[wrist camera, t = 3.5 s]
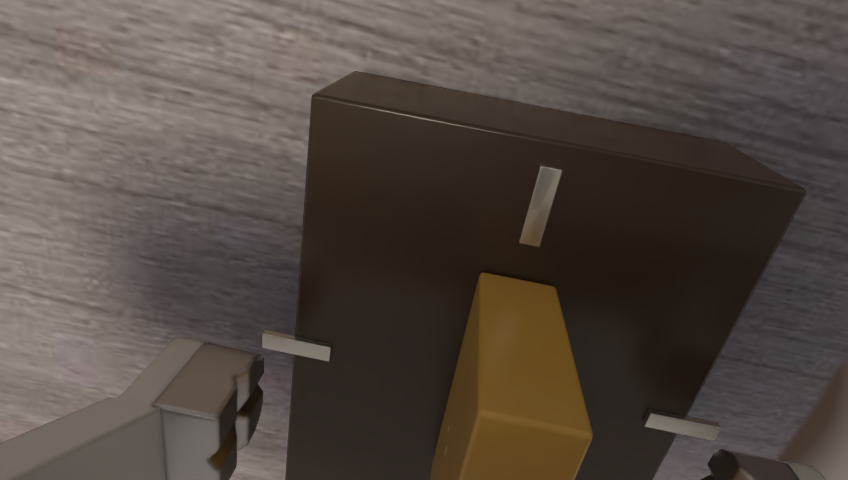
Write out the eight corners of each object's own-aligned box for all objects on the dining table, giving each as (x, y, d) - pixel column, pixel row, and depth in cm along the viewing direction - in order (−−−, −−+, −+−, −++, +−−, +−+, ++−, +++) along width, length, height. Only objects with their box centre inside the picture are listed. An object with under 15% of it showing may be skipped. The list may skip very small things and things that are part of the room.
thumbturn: (479, 269, 9) (478, 428, 6) (557, 285, 9) (600, 453, 6) (431, 463, 11) (409, 660, 8) (493, 476, 11) (498, 679, 8)
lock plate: (326, 64, 11) (270, 87, 8) (755, 147, 11) (855, 200, 8) (299, 410, 15) (256, 504, 12) (602, 473, 15) (630, 584, 12)
